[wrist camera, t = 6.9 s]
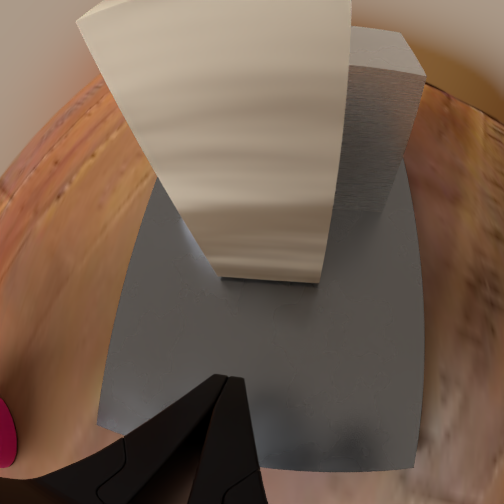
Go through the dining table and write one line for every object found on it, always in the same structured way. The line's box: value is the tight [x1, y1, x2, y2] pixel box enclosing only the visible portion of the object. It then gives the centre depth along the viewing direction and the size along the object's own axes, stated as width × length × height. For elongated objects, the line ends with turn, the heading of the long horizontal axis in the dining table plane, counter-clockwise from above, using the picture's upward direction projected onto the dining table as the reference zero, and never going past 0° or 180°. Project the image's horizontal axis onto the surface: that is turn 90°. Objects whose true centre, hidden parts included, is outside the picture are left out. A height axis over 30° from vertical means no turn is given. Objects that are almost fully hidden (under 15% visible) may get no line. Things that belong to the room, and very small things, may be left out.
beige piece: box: [75, 0, 352, 283], centre depth 12 cm, size 14×5×13 cm, turn 173°
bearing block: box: [97, 26, 427, 472], centre depth 12 cm, size 20×16×10 cm
